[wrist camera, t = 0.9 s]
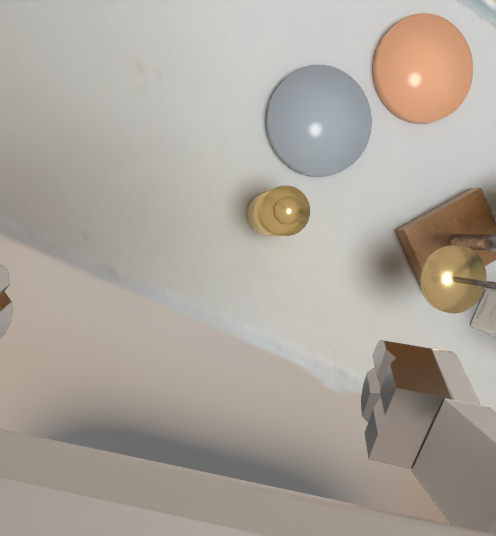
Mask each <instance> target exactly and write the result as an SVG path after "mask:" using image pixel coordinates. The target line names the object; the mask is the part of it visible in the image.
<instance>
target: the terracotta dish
mask: <svg viewBox="0 0 496 536" xmlns="http://www.w3.org/2000/svg"><path fill="white" fill-rule="evenodd" d="M472 77H473V61H472V55H471V52H470V48H469V46H468V44H467V41H466V40H465V38H464V36H463V35H462V33H461V32H460V31H459V30H458V29H457V28H456V27H455V26H454V25H453V24H452V23H451V22H449V21H448V20H446V19H444V18H443V17H440V16H437V15H434V14H427V13H421V14H415V15H411V16H408V17H406V18H404V19H402V20H401V21H399V22H398V23H397V24H395V25H394V26H393V27H392V28H391V29H390V30H389V31H388V32H387V33H386V34H385V35H384V36H383V38H382V39H381V41H380V43H379V44H378V47H377V49H376V52H375V55H374V60H373V80H374V84H375V88H376V91H377V93H378V95H379V97H380V99H381V101H382V102H383V104H384V105H385V106H386V107H387V109H388V110H389V111H390V112H392V113H393V114H394V115H395V116H397V117H398V118H400V119H402V120H404V121H407V122H410V123H416V124H425V123H431V122H434V121H437V120H439V119H442V118H444V117H446V116H448V115H450V114H451V113H453V112H454V111H455V110H456V109H457V108H458V107H459V106H460V105H461V104H462V102H463V101H464V99H465V98H466V96H467V94H468V92H469V89H470V86H471V82H472Z"/></svg>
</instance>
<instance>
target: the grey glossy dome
mask: <svg viewBox="0 0 496 536" xmlns="http://www.w3.org/2000/svg"><path fill="white" fill-rule="evenodd" d="M371 126H372V118H371V110H370V106H369V103H368V100H367V98H366V96H365V94H364V92H363V90H362V89H361V87H360V86H359V85H358V83H357V82H356V81H355V80H354V79H353V78H352V77H350V76H349V75H348V74H346V73H345V72H343V71H341V70H339V69H337V68H334V67H331V66H326V65H310V66H306V67H303V68H300V69H298V70H296V71H294V72H293V73H291V74H290V75H289V76H287V77H286V78H285V79H284V80H283V81H282V82H281V83H280V85H279V86H278V87H277V89H276V90H275V91H274V93H273V95H272V97H271V99H270V102H269V104H268V108H267V114H266V129H267V134H268V138H269V141H270V144H271V146H272V148H273V150H274V152H275V153H276V155H277V156H278V157H279V159H280V160H281V161H282V162H283V163H284V164H286V165H287V166H288V167H289V168H291V169H292V170H294V171H296V172H298V173H300V174H303V175H307V176H313V177H323V176H329V175H332V174H335V173H338V172H340V171H343V170H345V169H346V168H348V167H349V166H351V165H352V164H353V163H354V162H355V161H356V160H357V159H358V158H359V157H360V156H361V154H362V153H363V151H364V149H365V148H366V146H367V143H368V141H369V137H370V133H371Z"/></svg>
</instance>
